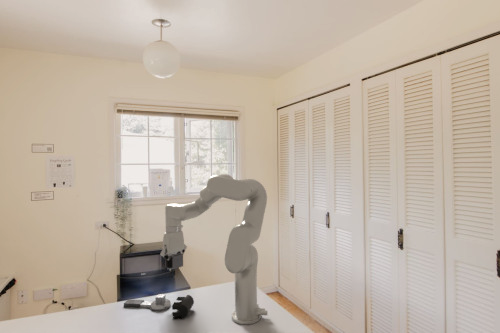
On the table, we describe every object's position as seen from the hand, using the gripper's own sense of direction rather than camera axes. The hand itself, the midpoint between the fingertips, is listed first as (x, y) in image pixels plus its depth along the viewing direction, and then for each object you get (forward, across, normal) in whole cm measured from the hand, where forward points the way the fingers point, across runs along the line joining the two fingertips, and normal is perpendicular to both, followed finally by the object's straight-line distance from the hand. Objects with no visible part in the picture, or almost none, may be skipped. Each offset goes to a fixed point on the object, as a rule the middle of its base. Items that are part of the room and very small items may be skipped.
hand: (174, 265), depth 146 cm
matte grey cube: (+1, 0, 0) cm, 1 cm away
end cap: (+18, +6, +13) cm, 23 cm away
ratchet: (+18, +10, -7) cm, 22 cm away
